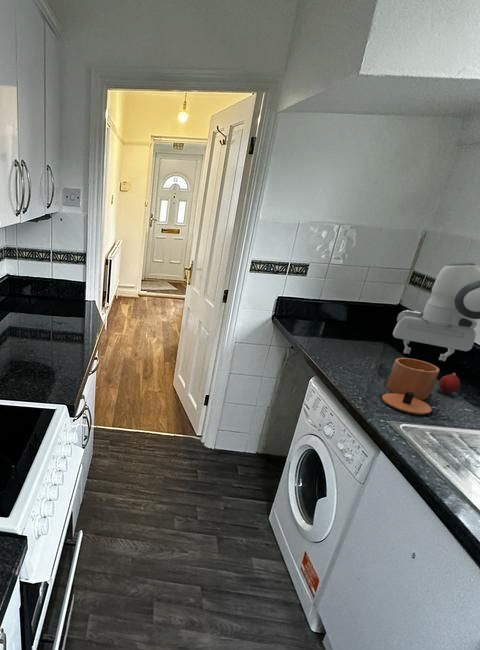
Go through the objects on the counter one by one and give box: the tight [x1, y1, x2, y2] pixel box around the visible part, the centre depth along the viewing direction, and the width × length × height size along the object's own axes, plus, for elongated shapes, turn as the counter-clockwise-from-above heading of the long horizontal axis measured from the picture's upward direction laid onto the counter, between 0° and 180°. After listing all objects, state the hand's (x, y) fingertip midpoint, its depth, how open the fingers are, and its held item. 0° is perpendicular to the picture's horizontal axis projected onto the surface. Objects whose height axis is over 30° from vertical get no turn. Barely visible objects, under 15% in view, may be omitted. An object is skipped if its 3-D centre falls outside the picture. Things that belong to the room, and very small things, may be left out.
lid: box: [381, 392, 433, 415], centre depth 137 cm, size 14×14×5 cm
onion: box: [438, 372, 461, 394], centre depth 147 cm, size 6×6×8 cm
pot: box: [385, 357, 441, 401], centre depth 146 cm, size 13×13×10 cm
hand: (423, 356), depth 134 cm, fingers open, 8 cm apart
